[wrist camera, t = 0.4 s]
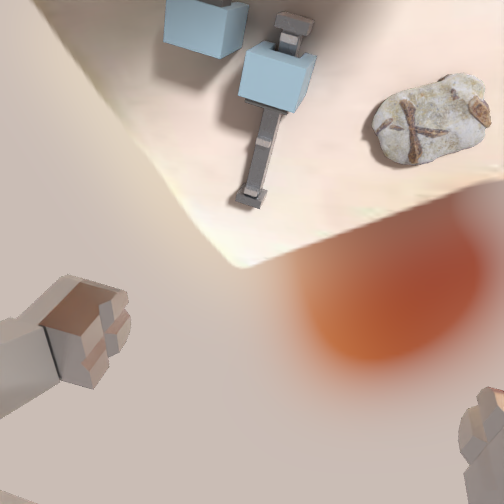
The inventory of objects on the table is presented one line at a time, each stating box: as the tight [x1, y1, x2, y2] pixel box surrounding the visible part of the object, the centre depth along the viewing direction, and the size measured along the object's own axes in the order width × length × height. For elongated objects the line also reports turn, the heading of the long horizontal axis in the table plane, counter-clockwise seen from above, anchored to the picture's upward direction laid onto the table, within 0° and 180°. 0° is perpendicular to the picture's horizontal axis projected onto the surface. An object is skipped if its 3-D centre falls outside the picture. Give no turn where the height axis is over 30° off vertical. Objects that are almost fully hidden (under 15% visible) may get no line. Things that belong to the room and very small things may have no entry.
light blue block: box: [163, 0, 249, 59], centre depth 43 cm, size 5×6×8 cm
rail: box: [235, 11, 314, 209], centre depth 50 cm, size 23×4×4 cm, turn 167°
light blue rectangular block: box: [238, 40, 317, 115], centre depth 45 cm, size 5×6×8 cm
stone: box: [372, 73, 491, 165], centre depth 46 cm, size 12×9×3 cm
